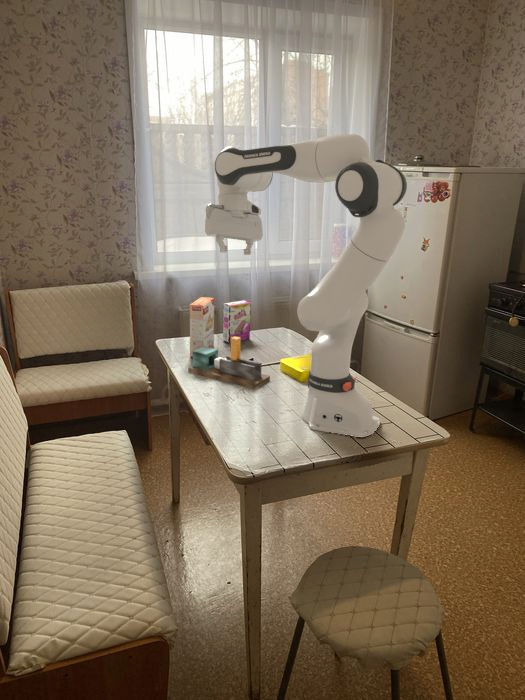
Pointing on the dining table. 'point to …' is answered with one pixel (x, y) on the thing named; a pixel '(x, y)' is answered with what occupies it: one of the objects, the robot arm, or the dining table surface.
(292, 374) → the element tile
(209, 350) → the slide bolt latch board
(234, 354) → the post on white base
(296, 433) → the dining table surface
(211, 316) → the cracker box
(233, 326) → the candy bar box
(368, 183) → the robot arm
